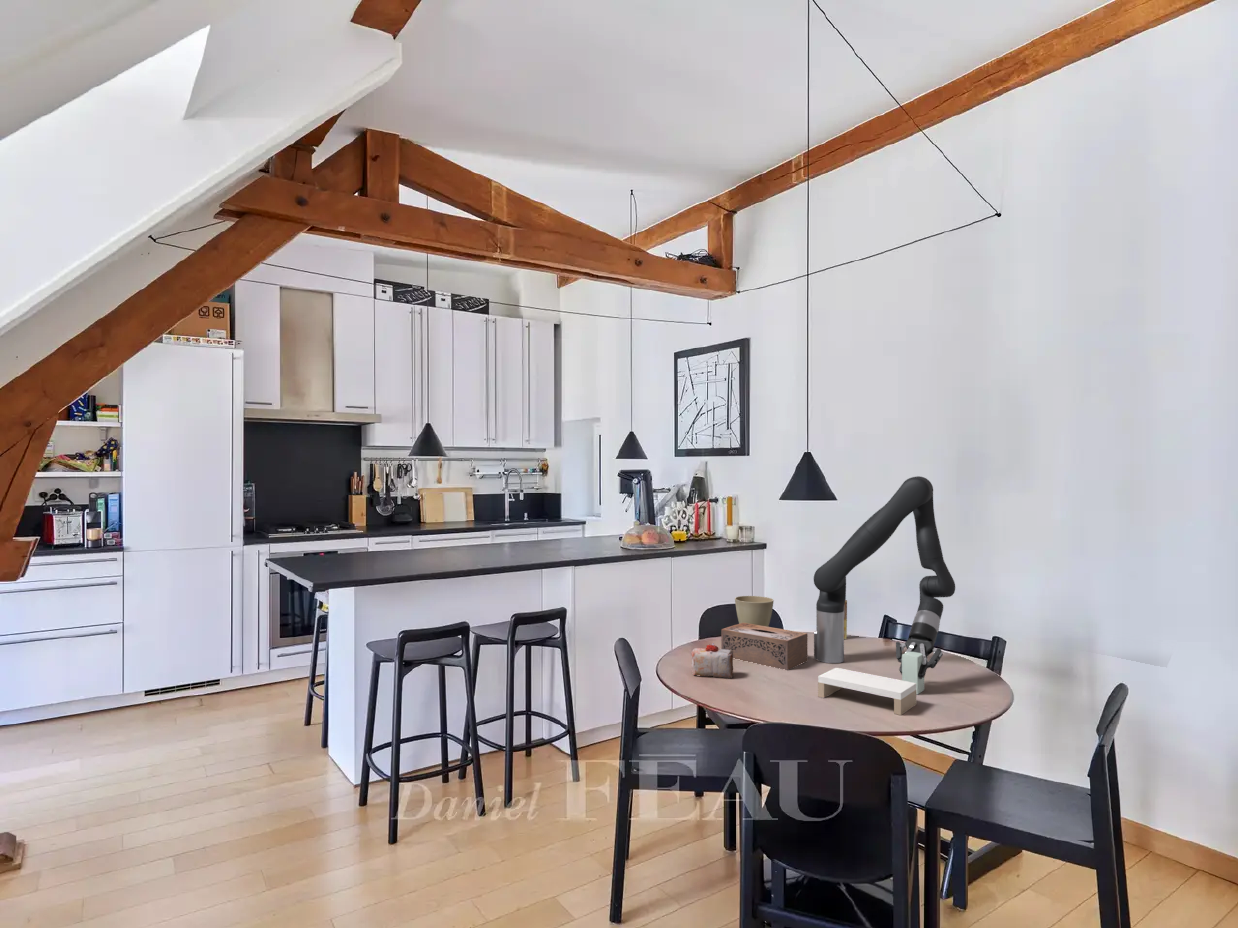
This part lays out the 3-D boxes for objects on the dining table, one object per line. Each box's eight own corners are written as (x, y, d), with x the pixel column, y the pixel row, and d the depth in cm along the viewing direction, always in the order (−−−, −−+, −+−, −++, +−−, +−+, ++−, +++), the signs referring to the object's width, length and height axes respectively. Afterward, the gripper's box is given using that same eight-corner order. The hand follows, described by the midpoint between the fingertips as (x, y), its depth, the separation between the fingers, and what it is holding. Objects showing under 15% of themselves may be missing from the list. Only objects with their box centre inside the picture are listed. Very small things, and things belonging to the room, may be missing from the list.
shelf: (818, 696, 212) (818, 675, 212) (835, 687, 221) (836, 667, 221) (900, 715, 196) (900, 693, 196) (916, 704, 205) (916, 683, 205)
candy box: (839, 636, 286) (839, 598, 286) (847, 639, 282) (847, 599, 282) (822, 639, 282) (822, 599, 282) (830, 641, 278) (830, 601, 278)
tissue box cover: (721, 657, 256) (721, 629, 256) (742, 649, 267) (742, 622, 267) (787, 670, 239) (787, 640, 239) (807, 662, 250) (807, 633, 250)
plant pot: (765, 646, 270) (765, 603, 270) (728, 641, 279) (728, 599, 279) (779, 638, 283) (779, 597, 283) (744, 633, 291) (744, 594, 291)
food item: (689, 676, 232) (689, 646, 232) (693, 670, 239) (693, 640, 239) (732, 680, 228) (732, 649, 228) (734, 673, 236) (734, 643, 236)
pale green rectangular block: (902, 691, 216) (902, 654, 216) (909, 686, 221) (909, 650, 221) (917, 694, 213) (917, 657, 213) (924, 689, 218) (924, 653, 218)
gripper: (898, 618, 228) (883, 664, 218) (946, 624, 218) (932, 673, 209) (904, 631, 232) (890, 678, 222) (951, 639, 222) (938, 687, 213)
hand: (911, 675), depth 216 cm, fingers closed on pale green rectangular block, 4 cm apart
